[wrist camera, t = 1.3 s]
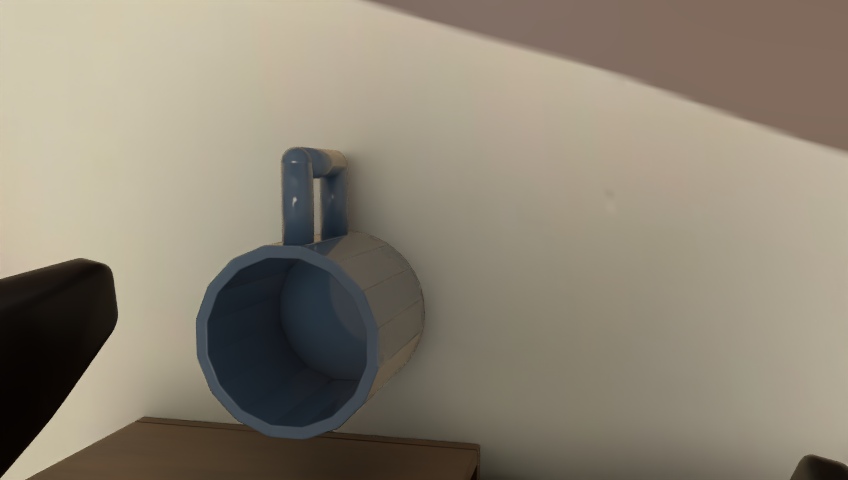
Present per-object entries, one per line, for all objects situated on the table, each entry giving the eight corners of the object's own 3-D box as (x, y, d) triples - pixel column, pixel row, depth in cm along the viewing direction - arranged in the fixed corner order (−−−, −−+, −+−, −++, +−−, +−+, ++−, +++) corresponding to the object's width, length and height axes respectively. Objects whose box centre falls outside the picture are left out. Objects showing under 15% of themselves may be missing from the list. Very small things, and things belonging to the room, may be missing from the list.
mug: (425, 390, 28) (379, 446, 22) (277, 380, 30) (198, 431, 24) (424, 150, 27) (376, 144, 22) (273, 152, 29) (190, 146, 23)
